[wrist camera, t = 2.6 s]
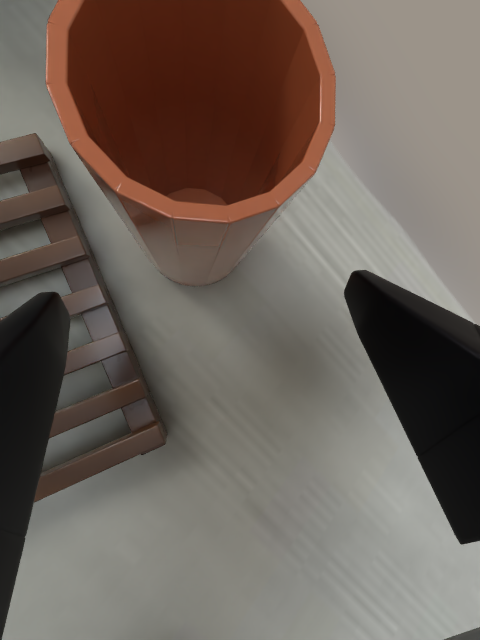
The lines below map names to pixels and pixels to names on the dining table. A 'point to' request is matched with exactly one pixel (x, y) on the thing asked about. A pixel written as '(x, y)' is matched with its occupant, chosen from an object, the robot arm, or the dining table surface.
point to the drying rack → (85, 300)
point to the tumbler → (193, 118)
